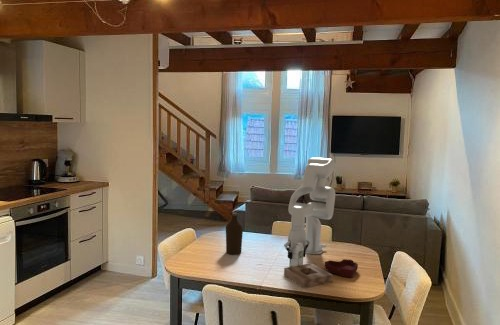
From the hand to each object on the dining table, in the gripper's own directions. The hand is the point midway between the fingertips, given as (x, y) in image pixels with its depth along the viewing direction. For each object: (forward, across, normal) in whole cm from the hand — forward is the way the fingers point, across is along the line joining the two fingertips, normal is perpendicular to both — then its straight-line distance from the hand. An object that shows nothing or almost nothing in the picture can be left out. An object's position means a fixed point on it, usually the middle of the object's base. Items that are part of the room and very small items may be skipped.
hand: (296, 257), depth 222 cm
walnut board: (+5, +5, +18) cm, 19 cm away
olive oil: (+5, +23, -35) cm, 42 cm away
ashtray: (+6, -18, +19) cm, 27 cm away
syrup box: (+5, 0, 0) cm, 5 cm away
